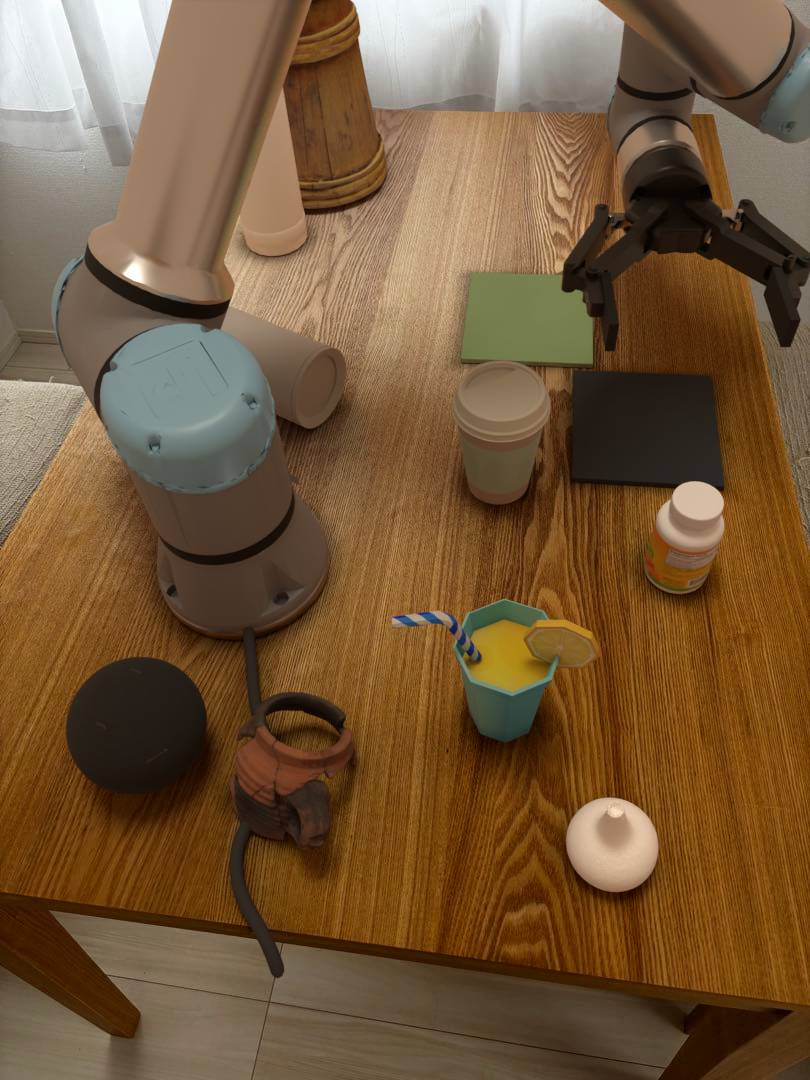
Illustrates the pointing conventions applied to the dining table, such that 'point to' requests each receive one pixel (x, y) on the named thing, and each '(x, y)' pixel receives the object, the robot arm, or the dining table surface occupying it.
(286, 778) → the broken clay pot
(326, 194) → the tankard
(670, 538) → the supplement bottle
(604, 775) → the dining table surface
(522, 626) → the cup
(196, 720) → the speaker
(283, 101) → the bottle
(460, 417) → the coffee cup
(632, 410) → the charcoal mat
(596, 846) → the garlic bulb
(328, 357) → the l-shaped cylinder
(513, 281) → the sage mat
